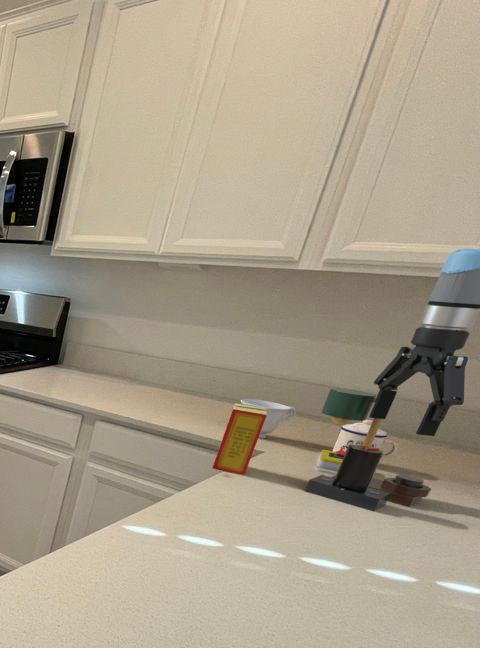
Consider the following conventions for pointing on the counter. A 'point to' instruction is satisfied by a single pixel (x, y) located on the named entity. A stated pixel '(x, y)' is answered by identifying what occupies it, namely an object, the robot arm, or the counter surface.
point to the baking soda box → (240, 438)
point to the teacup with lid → (361, 437)
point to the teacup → (271, 414)
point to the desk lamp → (351, 409)
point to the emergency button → (329, 461)
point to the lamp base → (399, 491)
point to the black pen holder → (357, 467)
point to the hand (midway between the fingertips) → (399, 426)
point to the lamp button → (409, 481)
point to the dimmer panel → (347, 493)
